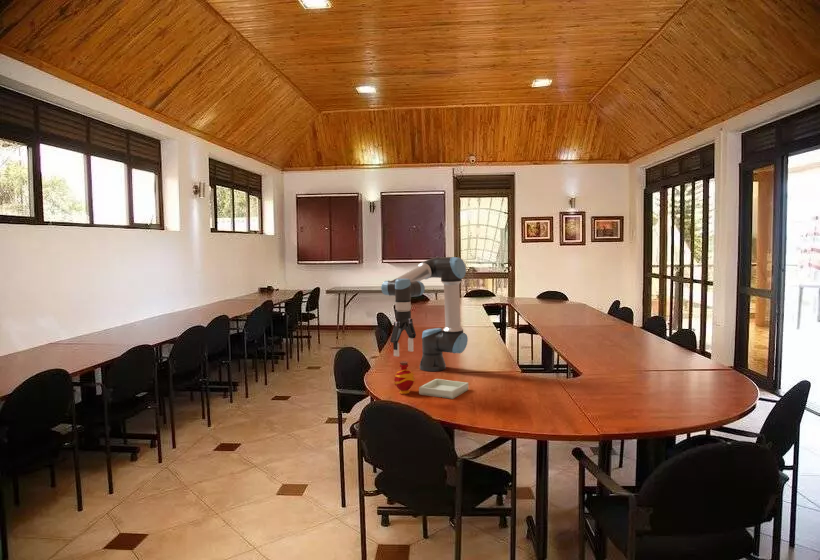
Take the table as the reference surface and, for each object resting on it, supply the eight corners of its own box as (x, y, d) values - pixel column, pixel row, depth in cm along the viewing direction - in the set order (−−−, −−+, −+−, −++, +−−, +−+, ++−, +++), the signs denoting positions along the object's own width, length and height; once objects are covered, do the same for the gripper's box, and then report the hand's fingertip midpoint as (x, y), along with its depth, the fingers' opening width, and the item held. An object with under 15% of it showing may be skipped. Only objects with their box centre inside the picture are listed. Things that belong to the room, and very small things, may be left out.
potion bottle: (397, 396, 258) (396, 365, 257) (392, 390, 268) (391, 360, 267) (418, 394, 260) (417, 363, 259) (412, 388, 270) (411, 359, 269)
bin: (436, 385, 275) (436, 378, 275) (468, 389, 266) (468, 382, 266) (419, 394, 260) (418, 387, 260) (452, 399, 251) (452, 391, 251)
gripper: (409, 307, 274) (410, 348, 275) (382, 313, 252) (383, 357, 254) (422, 308, 270) (422, 349, 271) (396, 313, 249) (396, 359, 250)
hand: (403, 353), depth 263 cm, fingers open, 13 cm apart
